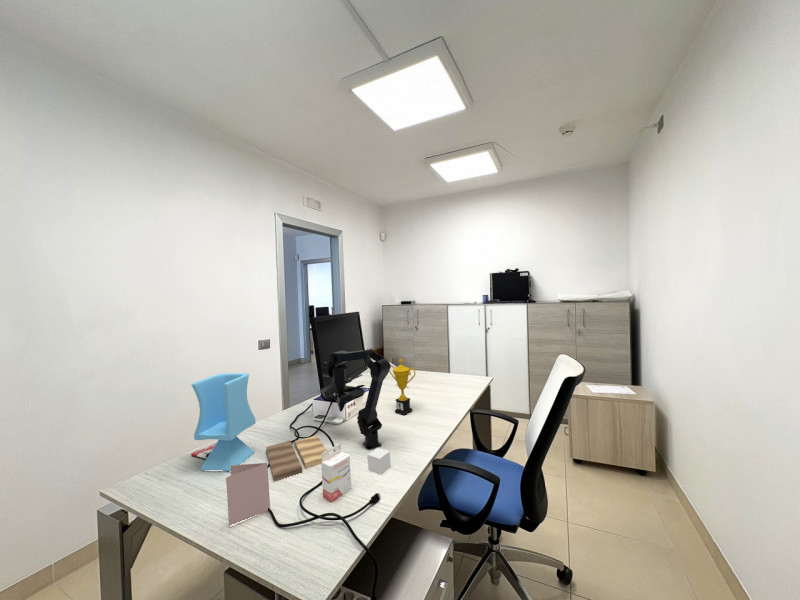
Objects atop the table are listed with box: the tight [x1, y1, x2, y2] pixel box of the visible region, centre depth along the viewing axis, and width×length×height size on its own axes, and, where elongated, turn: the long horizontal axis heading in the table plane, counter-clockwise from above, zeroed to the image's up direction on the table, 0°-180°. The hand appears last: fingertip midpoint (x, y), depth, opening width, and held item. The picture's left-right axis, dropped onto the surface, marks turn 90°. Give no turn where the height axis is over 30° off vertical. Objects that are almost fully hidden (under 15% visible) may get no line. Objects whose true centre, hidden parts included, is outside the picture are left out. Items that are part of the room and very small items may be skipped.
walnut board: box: [265, 440, 303, 482], centre depth 125 cm, size 26×10×2 cm, turn 29°
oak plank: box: [294, 435, 330, 469], centre depth 130 cm, size 22×10×2 cm, turn 29°
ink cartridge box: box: [320, 443, 352, 502], centre depth 103 cm, size 9×5×15 cm, turn 141°
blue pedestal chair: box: [191, 372, 256, 471], centre depth 126 cm, size 16×16×35 cm
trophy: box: [389, 358, 416, 416], centre depth 170 cm, size 19×10×30 cm, turn 51°
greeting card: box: [225, 462, 271, 527], centre depth 93 cm, size 11×7×15 cm, turn 92°
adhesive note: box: [367, 447, 391, 475], centre depth 116 cm, size 6×6×6 cm
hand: (341, 411), depth 144 cm, fingers closed
